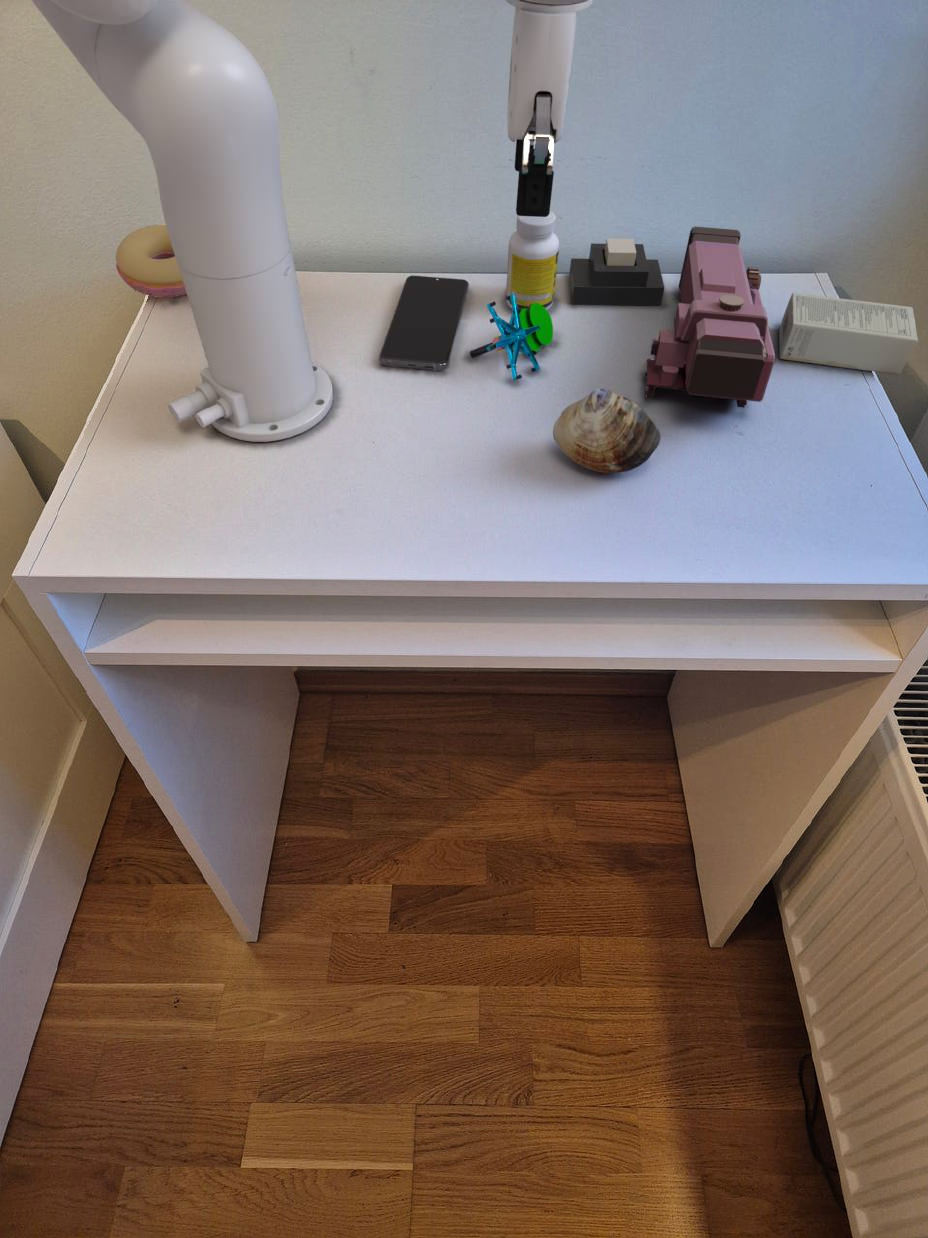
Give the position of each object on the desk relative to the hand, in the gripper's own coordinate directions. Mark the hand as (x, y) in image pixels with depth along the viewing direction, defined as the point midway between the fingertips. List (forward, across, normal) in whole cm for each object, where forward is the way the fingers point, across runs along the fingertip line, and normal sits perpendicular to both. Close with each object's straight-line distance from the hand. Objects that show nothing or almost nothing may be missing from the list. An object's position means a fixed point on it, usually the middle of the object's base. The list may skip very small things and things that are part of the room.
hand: (530, 191), depth 79 cm
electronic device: (+12, +9, +18) cm, 24 cm away
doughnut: (+9, -4, -41) cm, 42 cm away
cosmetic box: (+9, +6, +27) cm, 30 cm away
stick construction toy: (+13, +9, -1) cm, 16 cm away
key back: (+8, -3, +11) cm, 14 cm away
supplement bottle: (+12, -1, +1) cm, 13 cm away
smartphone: (+13, +4, -10) cm, 17 cm away
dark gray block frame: (+12, -3, +11) cm, 16 cm away
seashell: (+13, +26, +7) cm, 30 cm away
